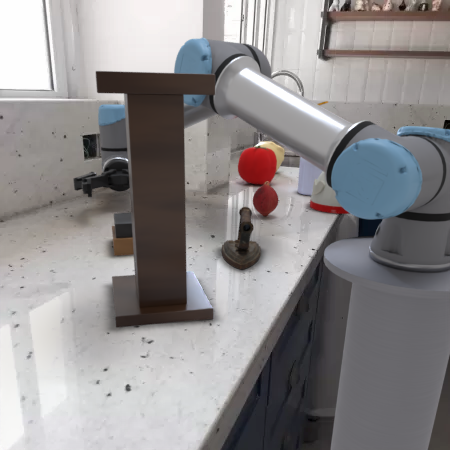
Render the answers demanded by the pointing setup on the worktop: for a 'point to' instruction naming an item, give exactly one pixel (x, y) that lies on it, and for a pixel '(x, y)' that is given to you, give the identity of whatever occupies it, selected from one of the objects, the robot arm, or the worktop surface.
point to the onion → (265, 199)
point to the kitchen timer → (325, 197)
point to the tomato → (257, 165)
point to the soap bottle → (307, 174)
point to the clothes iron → (242, 244)
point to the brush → (122, 234)
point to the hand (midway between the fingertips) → (123, 189)
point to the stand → (157, 198)
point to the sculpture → (276, 148)
